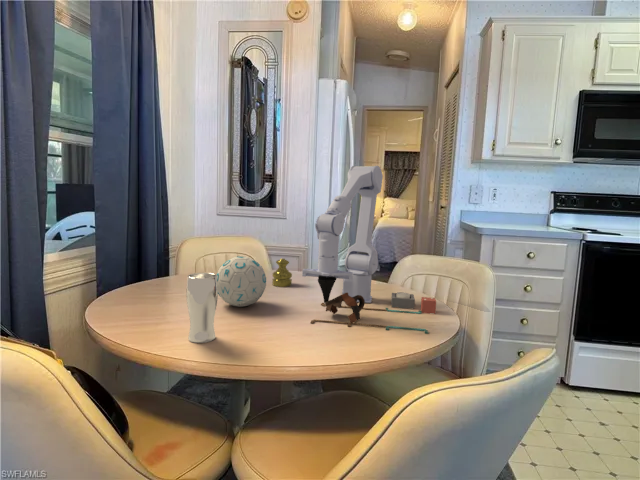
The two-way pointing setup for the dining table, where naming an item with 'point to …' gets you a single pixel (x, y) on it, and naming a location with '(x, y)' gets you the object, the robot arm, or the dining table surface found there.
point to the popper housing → (403, 301)
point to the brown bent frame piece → (349, 302)
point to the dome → (402, 295)
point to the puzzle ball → (241, 281)
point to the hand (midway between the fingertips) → (326, 302)
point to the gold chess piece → (282, 274)
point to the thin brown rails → (372, 324)
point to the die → (428, 305)
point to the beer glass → (202, 306)
